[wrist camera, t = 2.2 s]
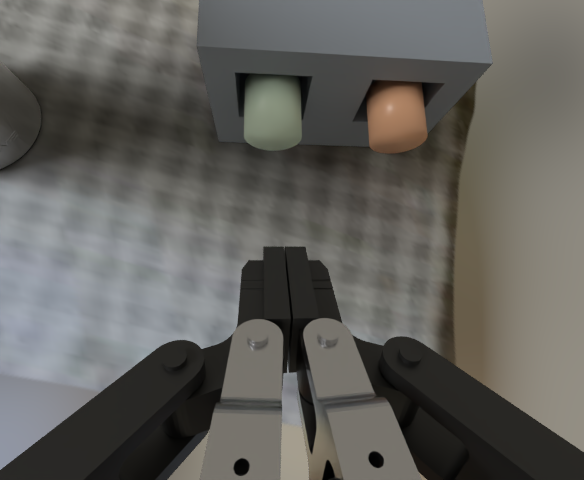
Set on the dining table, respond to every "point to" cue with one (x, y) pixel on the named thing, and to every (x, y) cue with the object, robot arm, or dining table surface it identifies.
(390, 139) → the terracotta button
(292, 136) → the sage button
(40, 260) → the dining table surface
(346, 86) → the block
